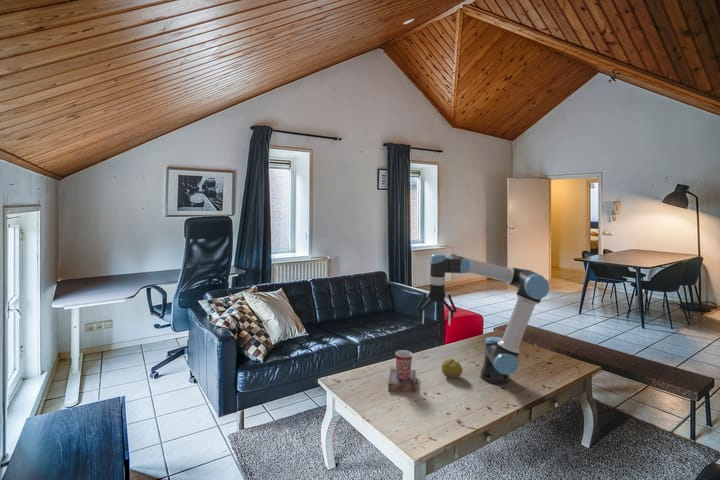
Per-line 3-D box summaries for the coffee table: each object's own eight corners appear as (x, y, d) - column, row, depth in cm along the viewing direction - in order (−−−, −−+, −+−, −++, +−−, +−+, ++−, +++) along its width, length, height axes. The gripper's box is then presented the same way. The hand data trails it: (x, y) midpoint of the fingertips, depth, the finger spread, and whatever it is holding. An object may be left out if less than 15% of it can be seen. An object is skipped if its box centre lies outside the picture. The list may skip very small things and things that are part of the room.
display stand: (415, 377, 217) (415, 369, 216) (415, 392, 199) (415, 384, 198) (390, 375, 219) (390, 367, 218) (388, 390, 201) (388, 382, 200)
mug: (413, 381, 203) (414, 356, 201) (397, 382, 201) (397, 357, 200) (407, 370, 215) (408, 347, 214) (391, 371, 214) (392, 347, 212)
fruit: (445, 382, 210) (446, 365, 209) (438, 373, 222) (438, 356, 220) (465, 381, 212) (465, 364, 211) (456, 372, 223) (457, 355, 222)
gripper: (461, 283, 201) (459, 322, 203) (413, 281, 205) (412, 320, 207) (463, 286, 194) (461, 327, 196) (413, 284, 197) (412, 324, 200)
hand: (436, 323), depth 202 cm, fingers open, 13 cm apart
